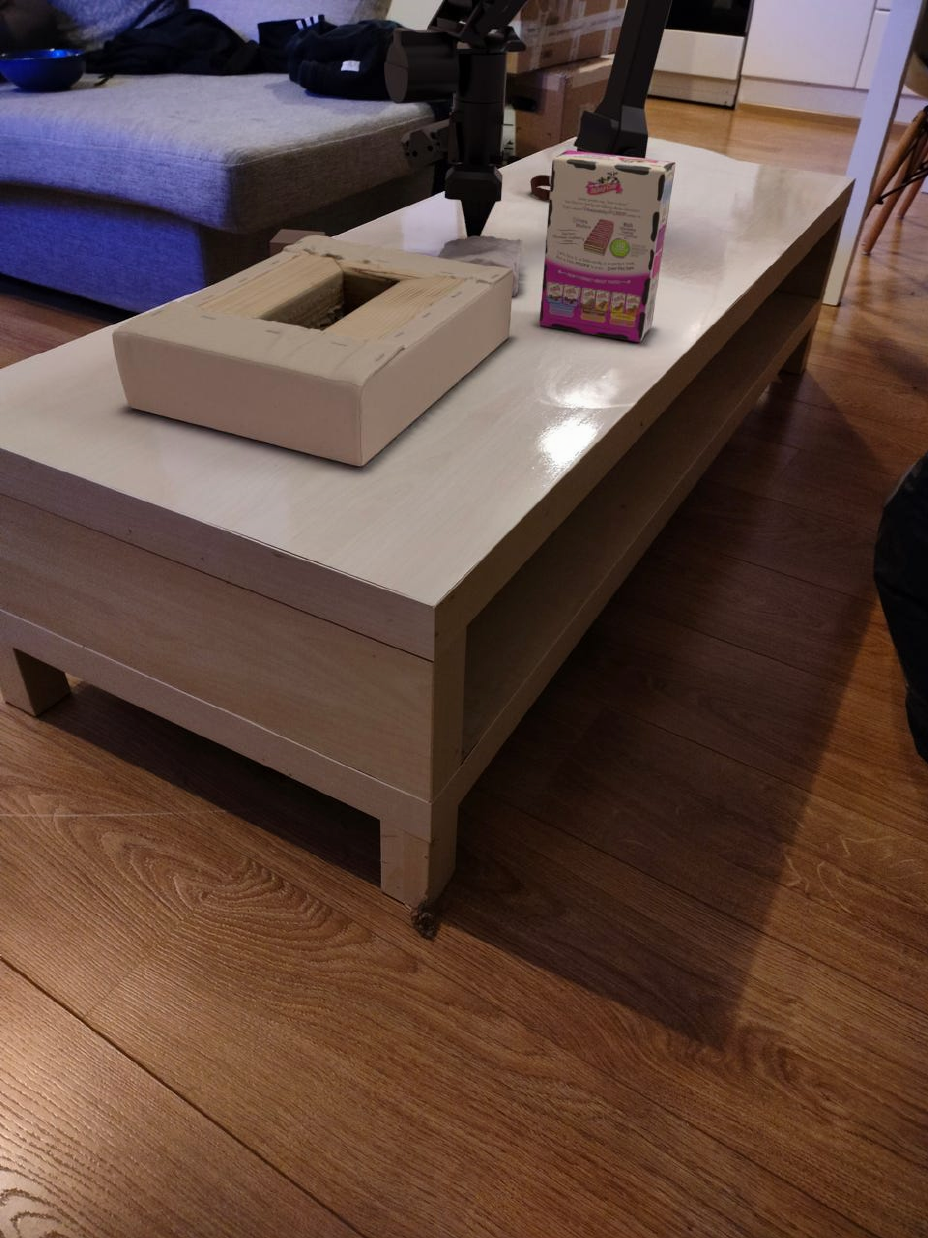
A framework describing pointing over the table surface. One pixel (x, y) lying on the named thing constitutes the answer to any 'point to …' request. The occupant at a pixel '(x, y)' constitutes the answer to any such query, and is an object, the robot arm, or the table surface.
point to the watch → (540, 181)
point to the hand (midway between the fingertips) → (472, 243)
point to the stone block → (486, 253)
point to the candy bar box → (604, 243)
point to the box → (317, 346)
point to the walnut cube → (288, 239)
